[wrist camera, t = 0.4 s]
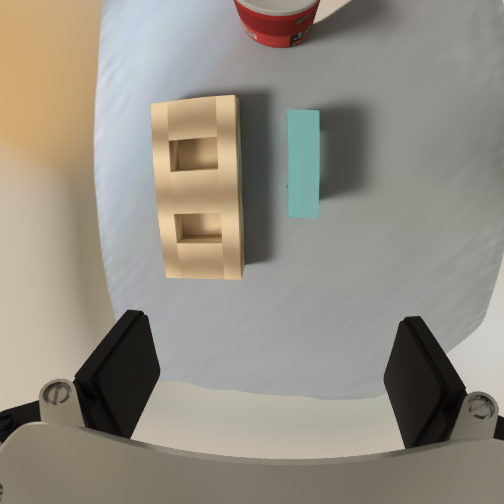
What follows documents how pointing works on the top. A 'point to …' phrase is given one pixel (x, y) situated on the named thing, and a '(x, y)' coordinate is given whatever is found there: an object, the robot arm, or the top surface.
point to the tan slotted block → (199, 186)
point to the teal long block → (303, 163)
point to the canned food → (277, 20)
